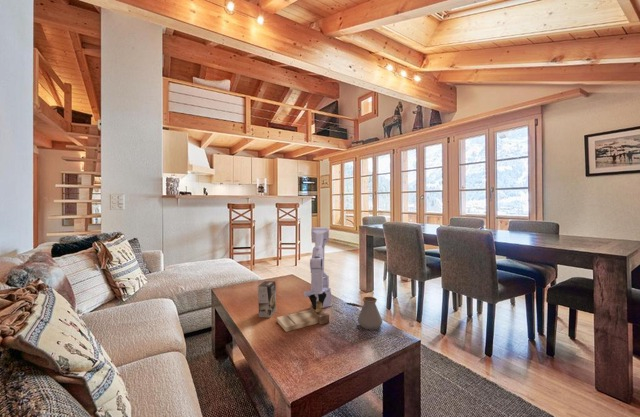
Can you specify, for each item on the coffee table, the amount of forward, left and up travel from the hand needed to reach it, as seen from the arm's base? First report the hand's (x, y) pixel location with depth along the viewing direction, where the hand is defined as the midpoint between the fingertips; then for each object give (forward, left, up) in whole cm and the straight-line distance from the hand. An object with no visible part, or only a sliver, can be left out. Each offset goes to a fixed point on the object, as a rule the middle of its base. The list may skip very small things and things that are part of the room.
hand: (317, 308), depth 135 cm
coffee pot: (-12, +21, -5) cm, 25 cm away
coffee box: (+20, -18, -5) cm, 27 cm away
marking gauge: (0, +1, -5) cm, 5 cm away
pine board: (+8, -1, -5) cm, 9 cm away
